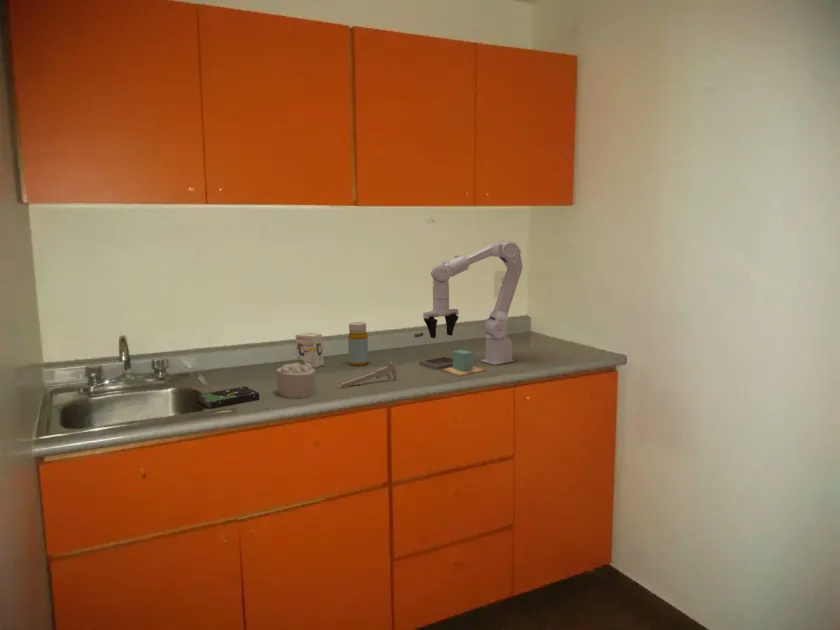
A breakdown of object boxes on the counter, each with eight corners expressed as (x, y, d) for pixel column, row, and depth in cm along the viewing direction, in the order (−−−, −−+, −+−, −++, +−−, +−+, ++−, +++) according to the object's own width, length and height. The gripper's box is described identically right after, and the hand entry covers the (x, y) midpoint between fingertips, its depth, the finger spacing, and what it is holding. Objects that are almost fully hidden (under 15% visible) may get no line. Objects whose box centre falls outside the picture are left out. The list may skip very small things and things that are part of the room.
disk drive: (246, 394, 199) (198, 403, 190) (245, 385, 198) (197, 393, 189) (260, 401, 191) (210, 410, 182) (259, 392, 190) (210, 401, 181)
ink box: (324, 365, 234) (323, 333, 233) (315, 368, 230) (314, 335, 228) (304, 363, 238) (303, 331, 236) (296, 366, 233) (294, 334, 232)
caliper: (395, 379, 213) (394, 361, 212) (396, 380, 212) (396, 361, 211) (337, 388, 203) (336, 369, 202) (338, 389, 202) (337, 369, 201)
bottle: (354, 367, 231) (353, 325, 229) (345, 363, 237) (344, 323, 234) (371, 364, 235) (370, 323, 232) (362, 361, 240) (361, 321, 238)
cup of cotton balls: (304, 386, 206) (303, 359, 204) (323, 394, 195) (322, 366, 194) (273, 391, 200) (272, 364, 198) (291, 400, 189) (290, 371, 188)
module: (461, 366, 226) (461, 349, 225) (472, 369, 221) (472, 352, 221) (452, 368, 224) (452, 351, 223) (463, 371, 219) (463, 354, 218)
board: (467, 365, 230) (467, 364, 230) (486, 370, 222) (486, 369, 222) (440, 370, 223) (440, 369, 223) (459, 376, 215) (459, 374, 215)
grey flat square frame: (445, 360, 240) (445, 356, 240) (464, 365, 231) (464, 361, 231) (419, 364, 233) (419, 360, 233) (438, 370, 224) (438, 365, 224)
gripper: (449, 296, 236) (449, 332, 238) (417, 299, 227) (418, 337, 229) (462, 297, 230) (462, 335, 232) (430, 301, 222) (430, 340, 224)
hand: (441, 336), depth 230 cm, fingers open, 7 cm apart
